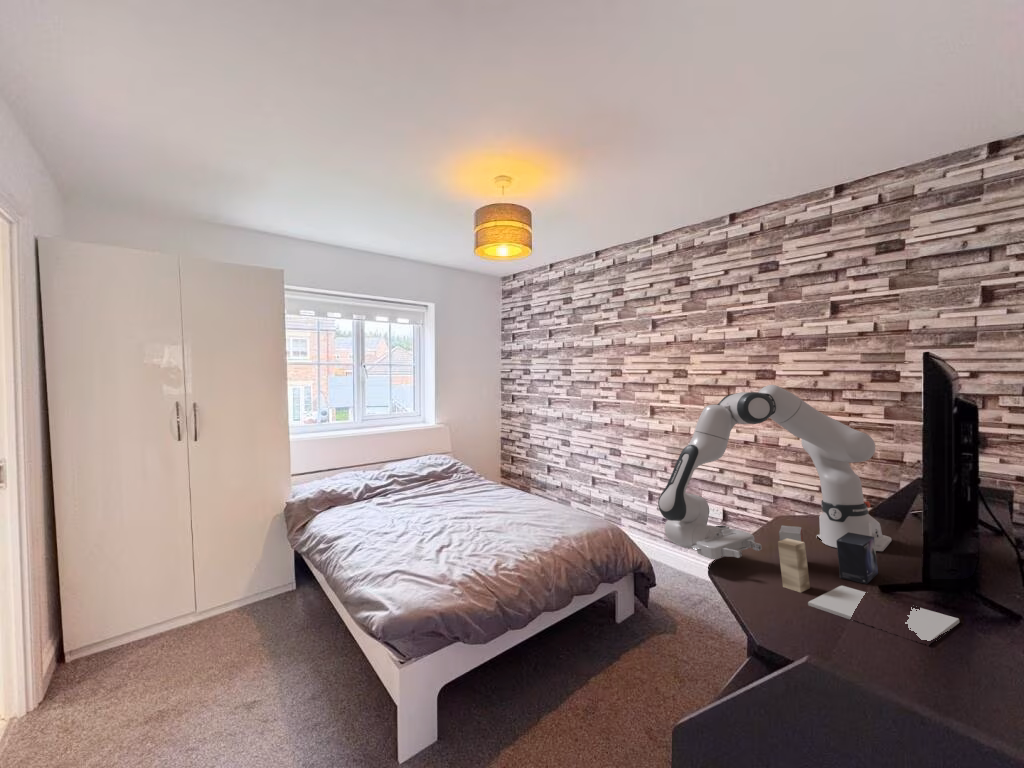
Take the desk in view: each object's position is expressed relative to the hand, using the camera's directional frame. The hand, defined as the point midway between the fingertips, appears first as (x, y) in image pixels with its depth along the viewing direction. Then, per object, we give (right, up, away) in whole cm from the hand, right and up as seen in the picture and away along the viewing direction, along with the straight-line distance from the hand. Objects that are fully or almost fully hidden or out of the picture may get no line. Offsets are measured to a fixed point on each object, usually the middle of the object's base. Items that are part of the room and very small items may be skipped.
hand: (750, 551), depth 123 cm
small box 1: (+16, -6, +4) cm, 18 cm away
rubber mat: (+14, -4, -27) cm, 31 cm away
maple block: (+6, -5, -11) cm, 14 cm away
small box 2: (+26, -4, -7) cm, 28 cm away
